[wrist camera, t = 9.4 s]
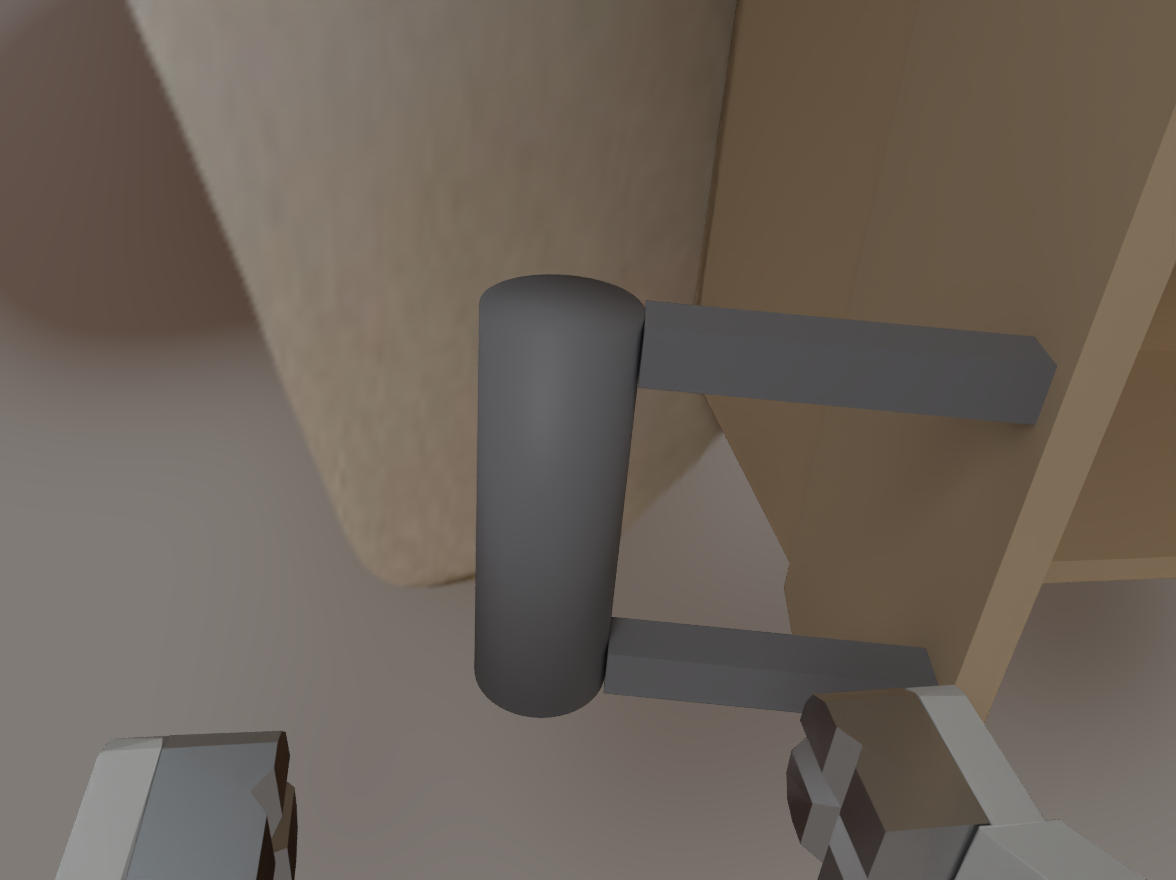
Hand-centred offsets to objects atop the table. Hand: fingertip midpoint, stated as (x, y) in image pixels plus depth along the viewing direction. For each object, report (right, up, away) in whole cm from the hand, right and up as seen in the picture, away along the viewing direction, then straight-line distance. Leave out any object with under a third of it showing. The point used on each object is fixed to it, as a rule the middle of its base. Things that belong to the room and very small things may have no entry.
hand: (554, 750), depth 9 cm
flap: (+6, +4, +7) cm, 10 cm away
